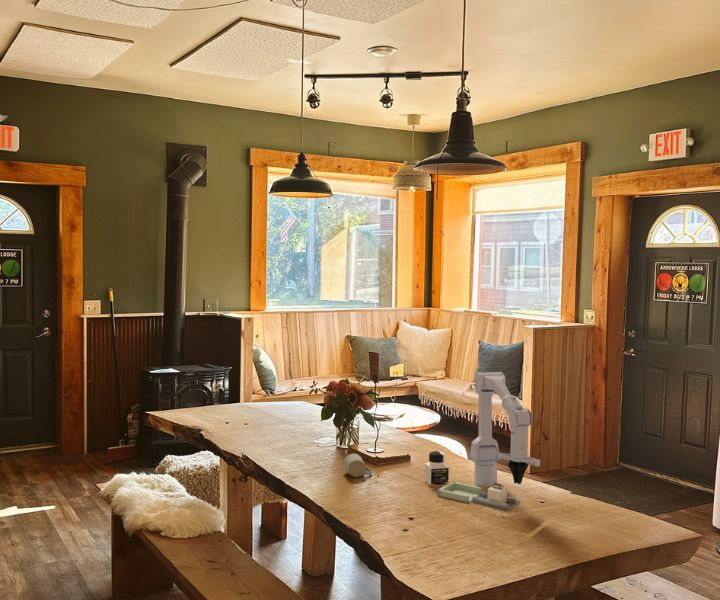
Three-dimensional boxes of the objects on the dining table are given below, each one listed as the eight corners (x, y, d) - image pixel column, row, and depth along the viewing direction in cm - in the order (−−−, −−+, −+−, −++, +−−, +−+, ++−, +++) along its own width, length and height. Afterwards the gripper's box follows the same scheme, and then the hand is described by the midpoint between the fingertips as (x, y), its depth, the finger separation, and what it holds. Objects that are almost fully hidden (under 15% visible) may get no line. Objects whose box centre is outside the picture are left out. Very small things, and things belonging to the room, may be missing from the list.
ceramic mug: (348, 478, 290) (348, 459, 289) (343, 472, 298) (344, 453, 297) (374, 477, 293) (375, 458, 292) (369, 471, 300) (369, 452, 300)
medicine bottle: (430, 486, 282) (431, 455, 281) (424, 480, 289) (425, 450, 288) (448, 485, 284) (449, 454, 283) (441, 479, 291) (442, 449, 290)
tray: (452, 489, 279) (452, 481, 279) (482, 495, 273) (482, 487, 272) (437, 498, 269) (437, 489, 269) (467, 504, 263) (467, 496, 262)
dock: (482, 495, 273) (482, 489, 272) (521, 504, 264) (521, 497, 264) (467, 504, 263) (467, 498, 262) (507, 514, 254) (507, 506, 254)
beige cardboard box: (493, 499, 266) (493, 483, 266) (506, 502, 263) (507, 486, 263) (487, 503, 262) (487, 487, 262) (500, 506, 259) (501, 490, 259)
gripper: (494, 443, 258) (493, 482, 259) (535, 450, 250) (533, 490, 251) (503, 439, 264) (501, 477, 265) (542, 445, 255) (541, 484, 256)
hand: (517, 483), depth 258 cm, fingers closed
